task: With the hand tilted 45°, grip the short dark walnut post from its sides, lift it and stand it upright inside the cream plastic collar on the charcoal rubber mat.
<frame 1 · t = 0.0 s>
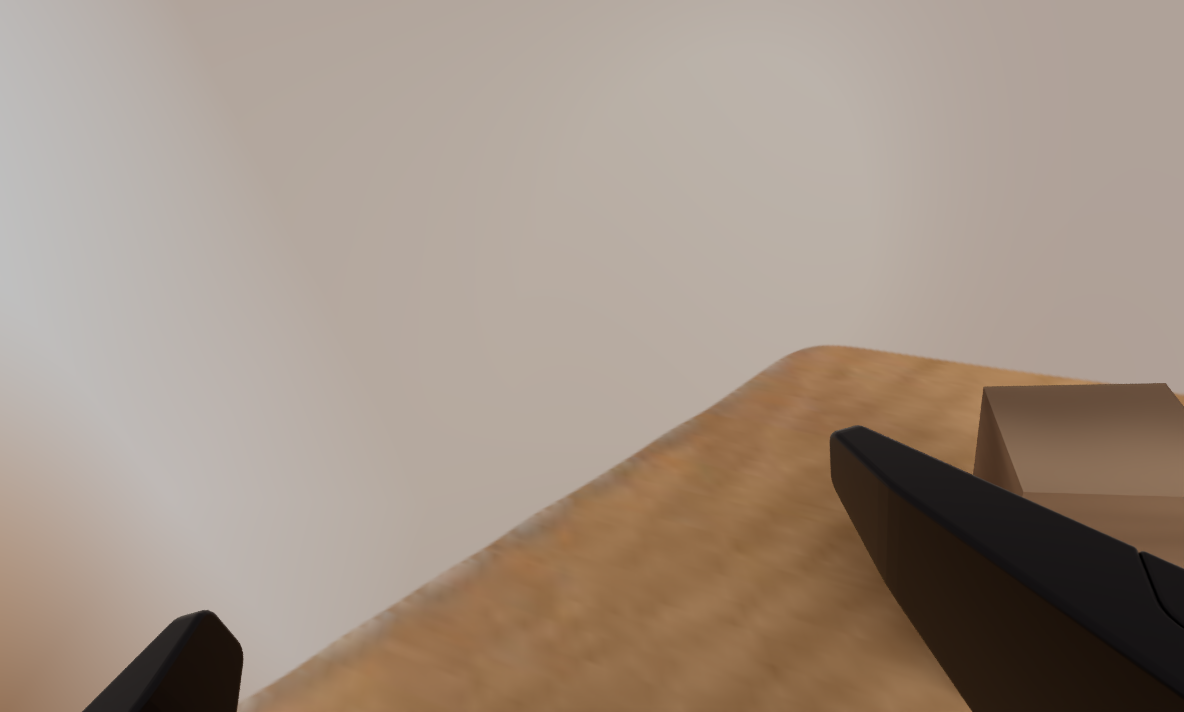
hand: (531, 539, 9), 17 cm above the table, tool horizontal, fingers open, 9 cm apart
walnut post: (1044, 657, 22), on the table
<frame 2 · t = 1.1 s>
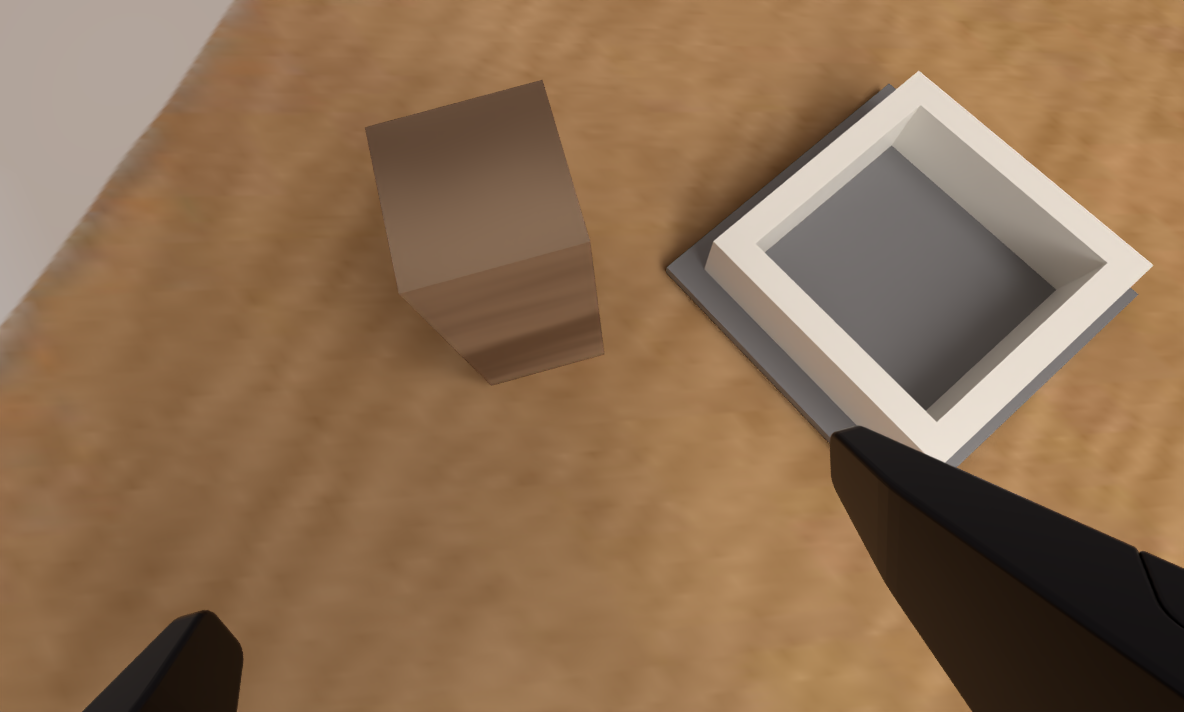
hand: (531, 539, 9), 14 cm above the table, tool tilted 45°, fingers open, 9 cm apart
socket collar: (891, 285, 24), on the table
walnut post: (534, 316, 24), on the table
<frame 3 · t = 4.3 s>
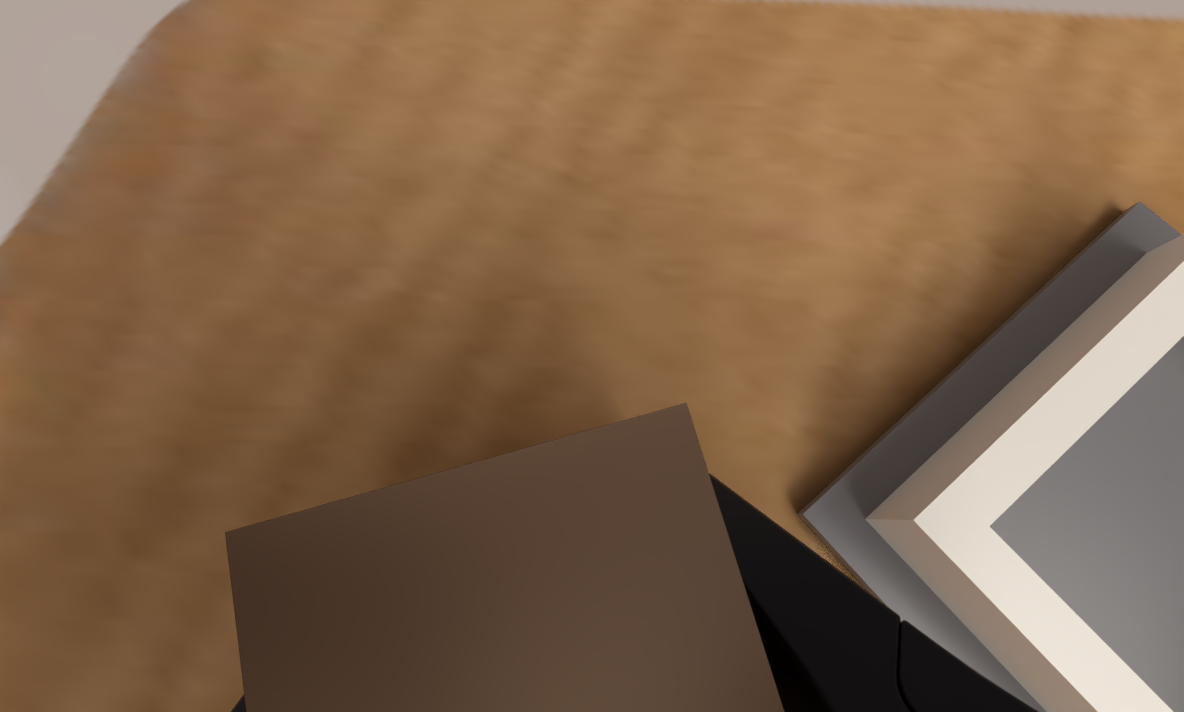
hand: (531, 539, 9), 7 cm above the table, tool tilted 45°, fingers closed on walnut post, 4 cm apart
socket collar: (1169, 544, 15), on the table
walnut post: (585, 587, 15), on the table, touching gripper
when the fingers open (8 cm above the table, at t = 8.7 s): walnut post drops 1 cm, resting on socket collar.
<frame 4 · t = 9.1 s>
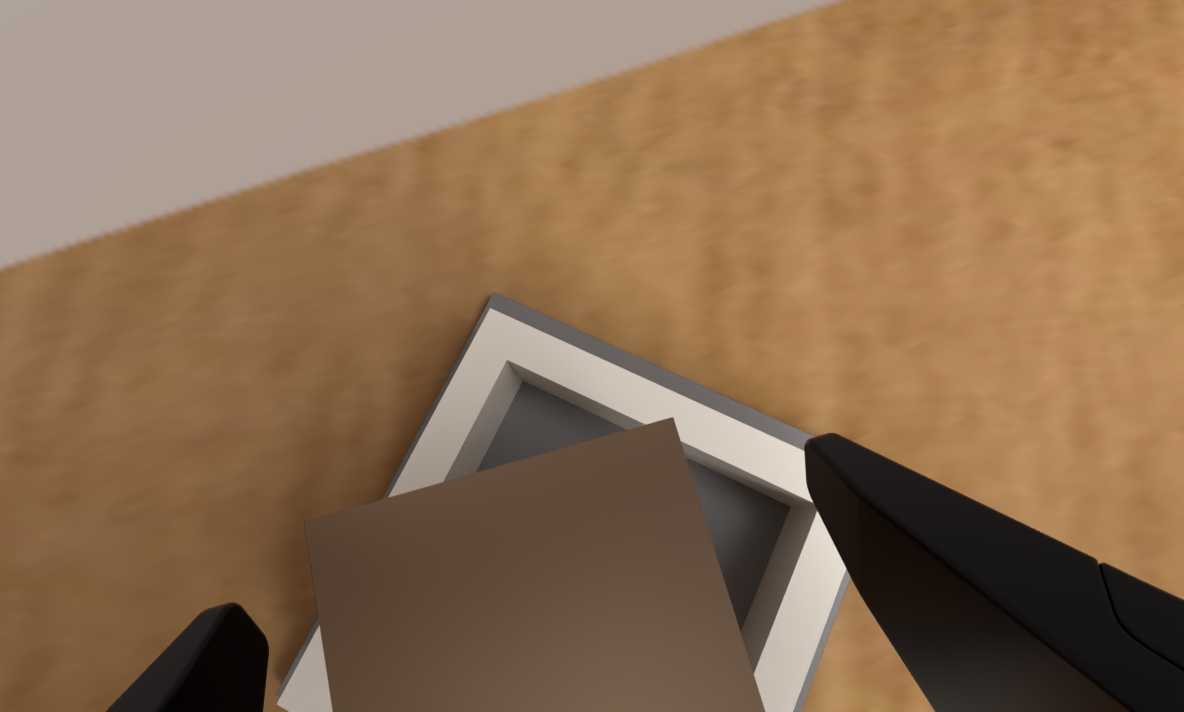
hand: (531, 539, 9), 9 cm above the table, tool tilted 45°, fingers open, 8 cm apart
socket collar: (589, 578, 17), on the table
walnut post: (588, 578, 16), point 1 cm above the table, touching socket collar
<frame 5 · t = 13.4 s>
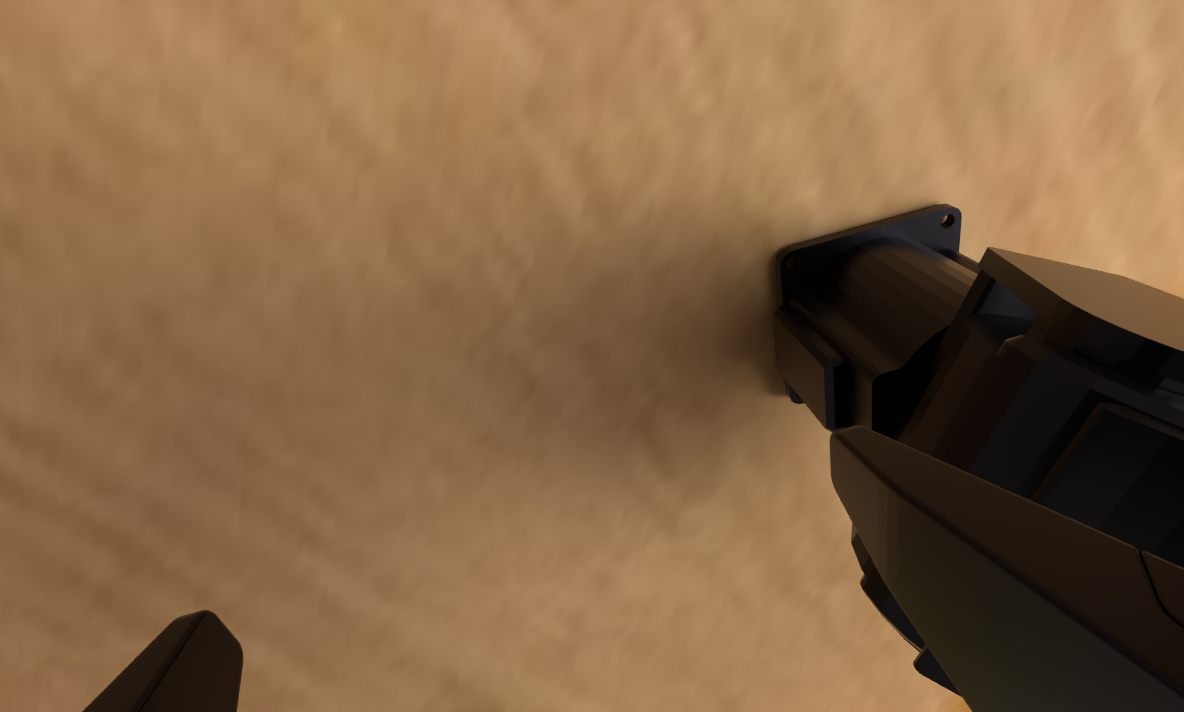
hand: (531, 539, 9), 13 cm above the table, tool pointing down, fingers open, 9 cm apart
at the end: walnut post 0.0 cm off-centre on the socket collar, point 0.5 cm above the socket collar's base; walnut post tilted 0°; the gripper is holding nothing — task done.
